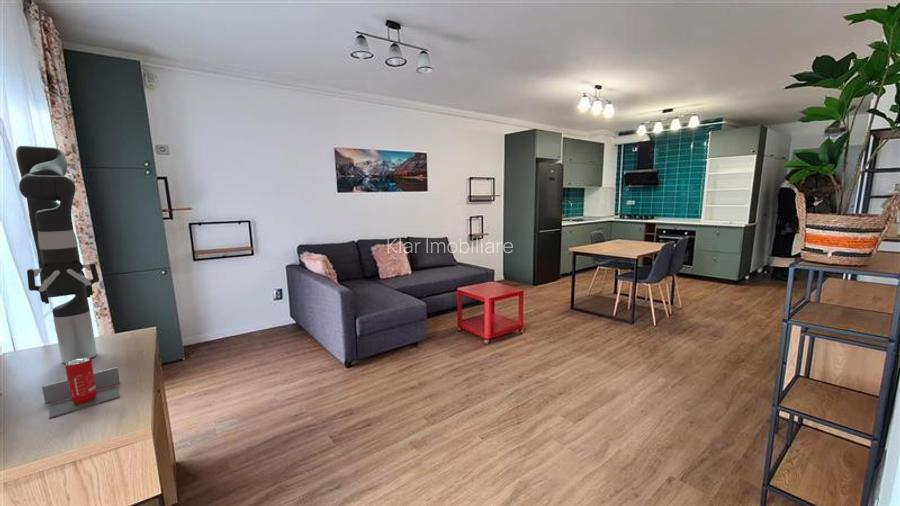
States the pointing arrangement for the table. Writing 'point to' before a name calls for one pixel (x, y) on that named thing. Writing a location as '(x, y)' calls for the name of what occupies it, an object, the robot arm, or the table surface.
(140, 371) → the table surface
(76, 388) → the beverage can
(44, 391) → the low wall
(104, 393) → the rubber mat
